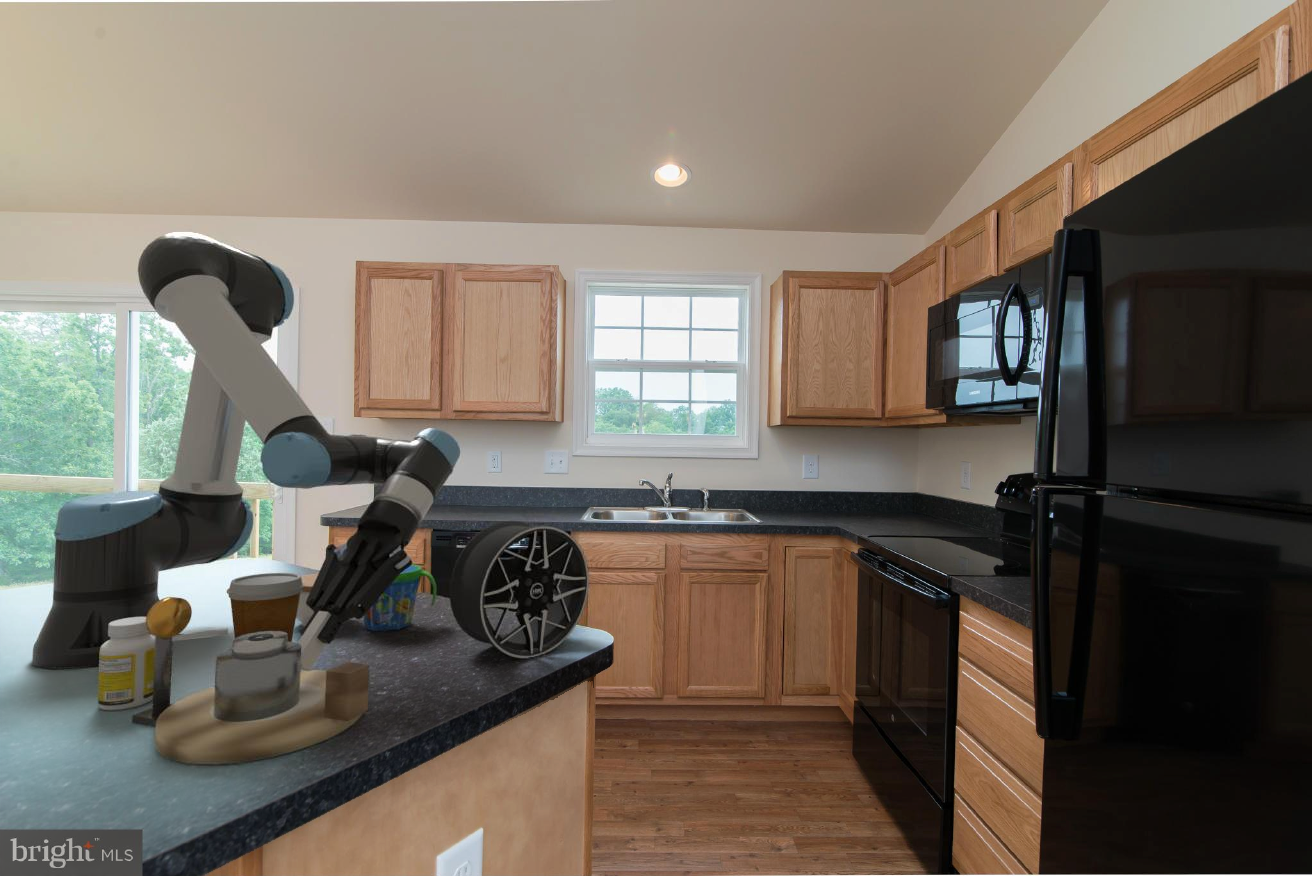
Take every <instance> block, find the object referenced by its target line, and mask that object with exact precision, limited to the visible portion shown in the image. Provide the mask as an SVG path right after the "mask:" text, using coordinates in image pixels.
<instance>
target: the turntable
mask: <svg viewBox="0 0 1312 876" xmlns="http://www.w3.org/2000/svg"><path fill="white" fill-rule="evenodd" d="M369 682H370V664H366V663H358V662H351V661H345V662H343V663H341V664H339V665H337V666H333V667H332V668H329V669H328V670H321V669H320V670H319V669H311V670H310V671H305V670H300V695H299V702H298V704H297V705H296V706H294V707H293V708H291V709H290V710H288V711H286V712H283V713H281V714H278V715H275V716H272V717H268V718H264V719H259V720H254V721H245V722H227V721H221V720H218V719H216V718H215V717H214V696H215V685H213V686H210V687H207V688H204V689H202V690H199V691H197V692H196V691H195V692H194V693H191V694H190V695H188V696H187V695H186V696H185V697H183V698H181V699H179V700H178V701H176V702H174V703H171V704H172V705H171V706H170V707H168V708H167V709H166V710H164V711H163V712H162V713H161V714H160V716H159V717H158V719H157V721H156V727H155V736H154V746H155V749H156V751H157V752H158V753H159V754H161V756H163V757H165V758H167V759H169V760H171V761H176V762H180V763H181V762H182V763H187V764H195V765H197V764H198V765H221V764H223V765H224V764H225V765H226V764H234V763H235V764H236V763H243V762H244V763H245V762H250V761H251V762H252V761H258V760H262V759H263V760H264V759H267V758H273V757H277V756H281V755H284V754H289V753H293V752H295V751H299V750H301V749H302V750H303V749H305V748H309V747H310V746H311V747H312V746H313V745H315V744H318V743H321V742H323V741H326V740H328V739H331V738H332V737H334V736H336V735H338V734H340V733H342V732H344V731H345V730H347V729H349V728H350V727H351V726H352V725H354V724H355V723H357V722H358V720H359V719H360V718H361V717H362V716H363V714H364V713H366V712H367V711H368V710H369V690H370V688H369V686H370V683H369Z"/></svg>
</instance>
